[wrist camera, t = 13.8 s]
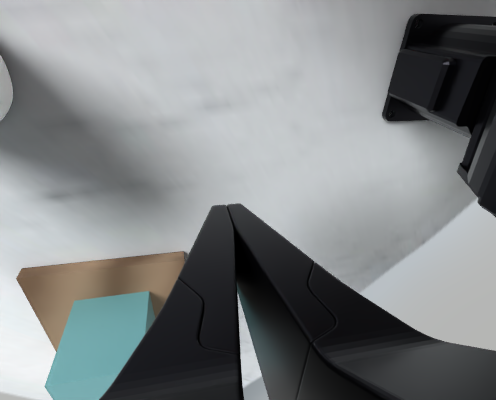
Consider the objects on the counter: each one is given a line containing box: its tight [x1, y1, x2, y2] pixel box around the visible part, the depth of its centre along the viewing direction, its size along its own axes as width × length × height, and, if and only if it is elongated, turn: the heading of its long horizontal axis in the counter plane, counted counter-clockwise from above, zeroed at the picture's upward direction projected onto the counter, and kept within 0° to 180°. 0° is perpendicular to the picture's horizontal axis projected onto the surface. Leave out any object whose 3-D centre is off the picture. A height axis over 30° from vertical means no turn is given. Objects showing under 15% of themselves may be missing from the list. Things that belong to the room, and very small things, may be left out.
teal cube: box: [45, 291, 155, 400], centre depth 24 cm, size 6×6×7 cm
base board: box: [16, 252, 185, 352], centre depth 27 cm, size 12×12×1 cm
